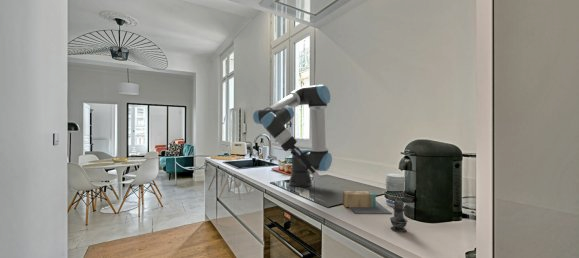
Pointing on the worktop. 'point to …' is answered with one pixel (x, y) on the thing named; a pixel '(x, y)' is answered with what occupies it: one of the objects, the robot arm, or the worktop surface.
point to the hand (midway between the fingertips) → (317, 177)
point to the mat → (371, 210)
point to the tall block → (359, 199)
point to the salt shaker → (398, 217)
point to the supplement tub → (394, 185)
